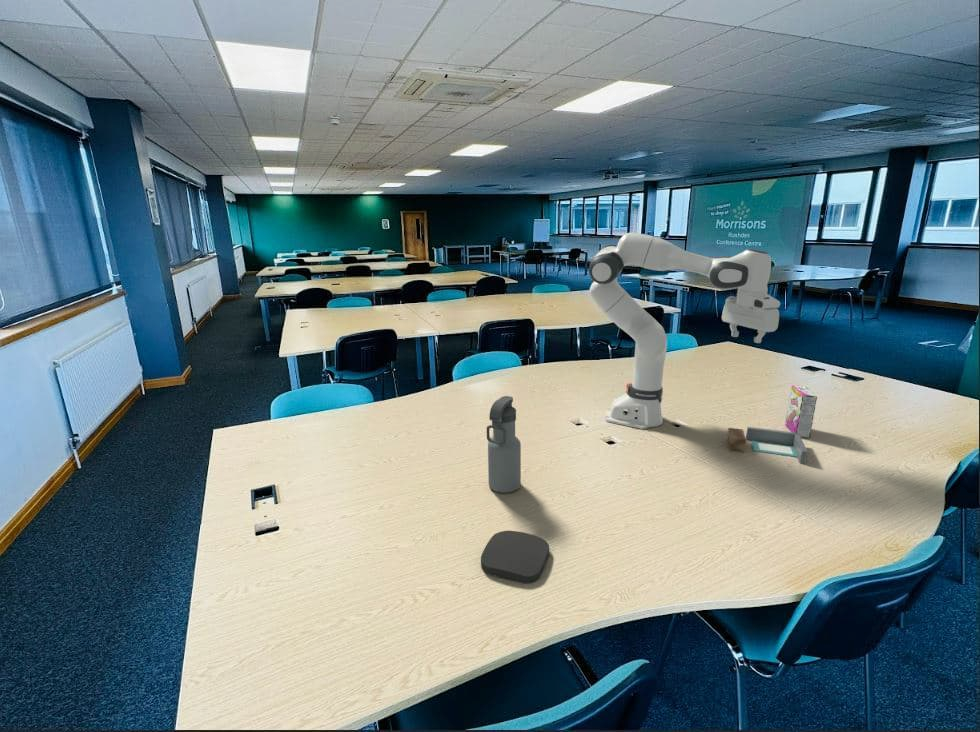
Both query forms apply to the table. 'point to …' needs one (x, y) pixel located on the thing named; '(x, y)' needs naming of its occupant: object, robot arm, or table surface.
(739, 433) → the walnut block
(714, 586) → the table surface
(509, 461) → the water bottle
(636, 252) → the robot arm
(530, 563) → the media streaming box
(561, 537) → the table surface
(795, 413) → the candy bar box
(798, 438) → the corner bracket
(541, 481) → the table surface
